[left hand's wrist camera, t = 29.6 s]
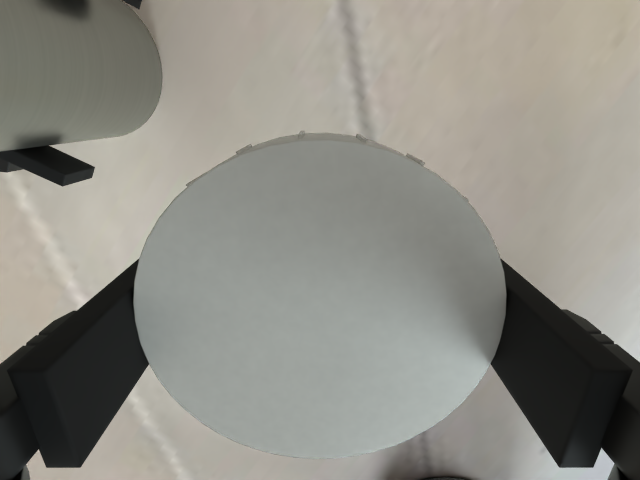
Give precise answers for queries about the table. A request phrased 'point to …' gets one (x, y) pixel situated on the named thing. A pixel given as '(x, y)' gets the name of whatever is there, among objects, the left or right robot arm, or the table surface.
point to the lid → (319, 297)
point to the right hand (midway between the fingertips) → (101, 92)
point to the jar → (74, 72)
